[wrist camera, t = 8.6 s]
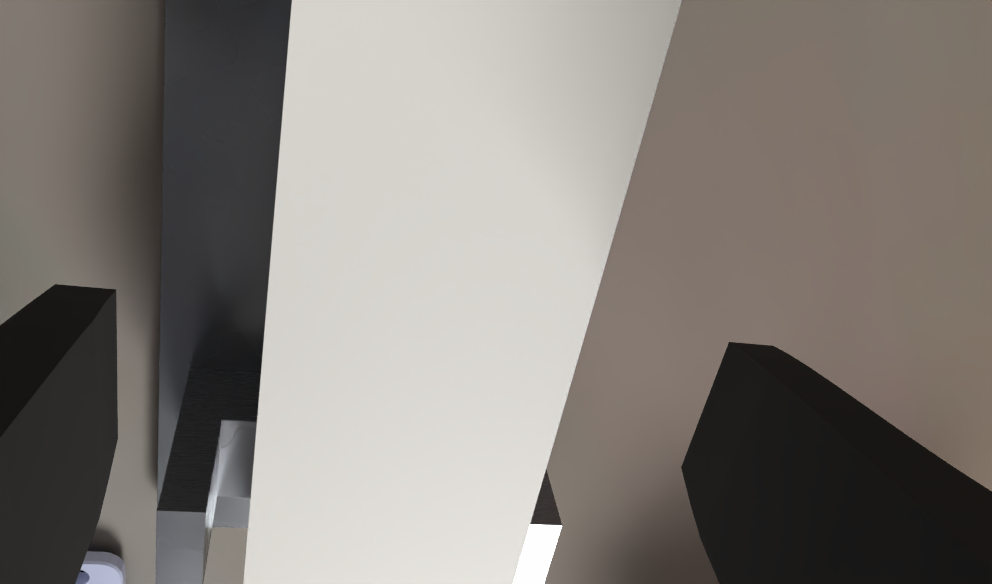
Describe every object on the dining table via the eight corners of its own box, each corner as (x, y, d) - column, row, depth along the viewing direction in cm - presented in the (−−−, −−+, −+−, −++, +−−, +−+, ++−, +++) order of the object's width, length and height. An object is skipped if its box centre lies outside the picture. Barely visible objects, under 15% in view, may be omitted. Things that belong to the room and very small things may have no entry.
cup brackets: (162, 500, 22) (120, 681, 18) (185, -634, 12) (104, -828, 8) (505, 514, 24) (541, 680, 19) (767, -458, 14) (950, -537, 10)
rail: (251, 551, 20) (227, 774, 15) (344, -526, 11) (348, -684, 7) (434, 555, 21) (458, 768, 16) (657, -435, 12) (834, -527, 8)
